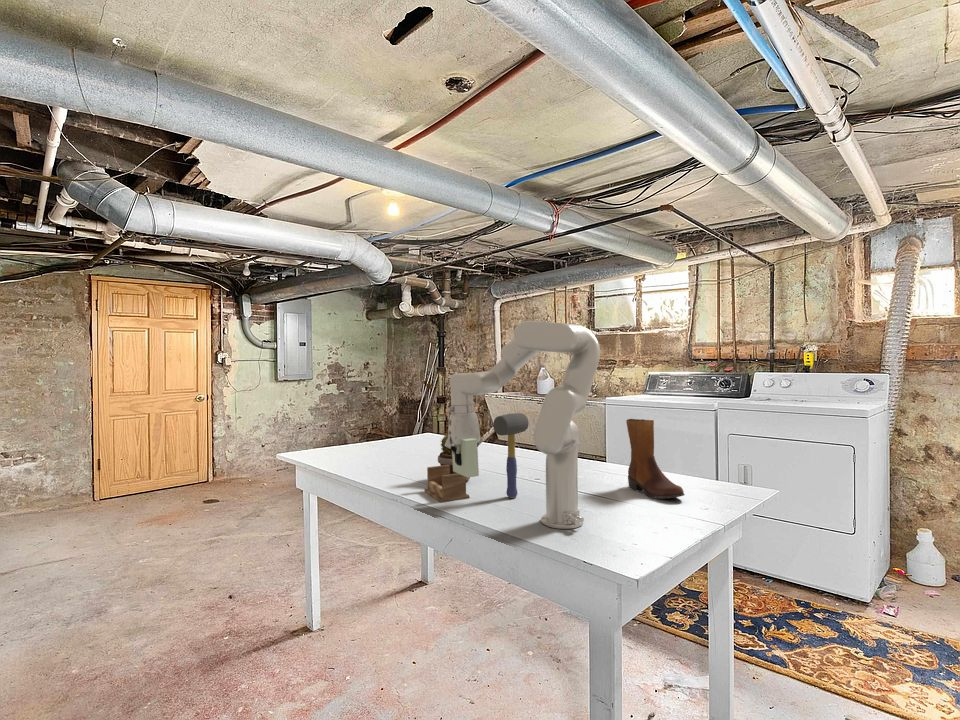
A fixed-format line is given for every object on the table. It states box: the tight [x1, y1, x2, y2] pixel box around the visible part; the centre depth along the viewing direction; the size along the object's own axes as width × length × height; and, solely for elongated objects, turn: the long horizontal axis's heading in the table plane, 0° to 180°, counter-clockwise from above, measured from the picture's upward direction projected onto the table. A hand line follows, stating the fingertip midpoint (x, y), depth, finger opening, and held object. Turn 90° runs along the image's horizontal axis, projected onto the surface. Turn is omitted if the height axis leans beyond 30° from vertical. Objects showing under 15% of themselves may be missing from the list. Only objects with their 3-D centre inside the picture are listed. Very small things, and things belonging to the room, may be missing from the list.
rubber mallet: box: [492, 412, 530, 499], centre depth 179 cm, size 12×8×30 cm, turn 135°
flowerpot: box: [437, 432, 471, 483], centre depth 203 cm, size 14×15×20 cm
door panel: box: [452, 438, 480, 478], centre depth 170 cm, size 12×4×12 cm, turn 27°
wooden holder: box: [424, 465, 470, 503], centre depth 184 cm, size 16×11×9 cm
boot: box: [625, 418, 685, 500], centre depth 182 cm, size 25×9×27 cm, turn 17°
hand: (465, 463), depth 170 cm, fingers closed on door panel, 4 cm apart
